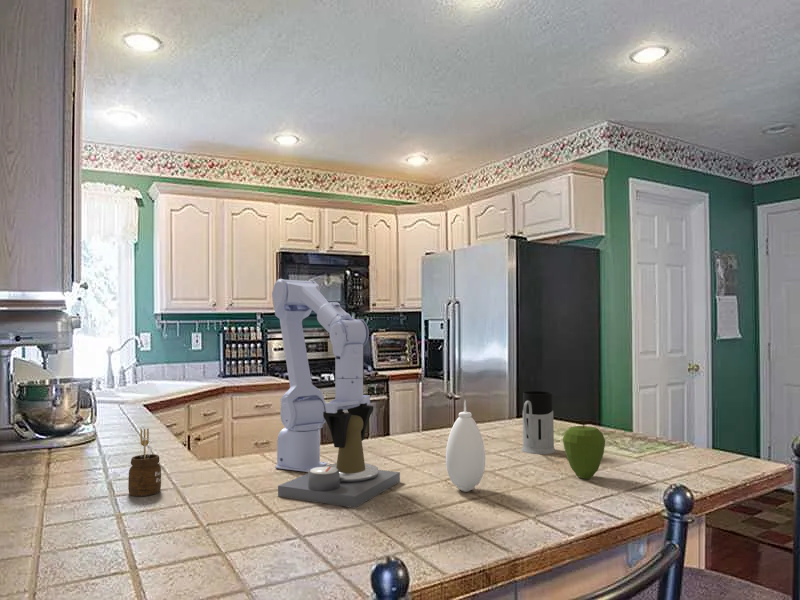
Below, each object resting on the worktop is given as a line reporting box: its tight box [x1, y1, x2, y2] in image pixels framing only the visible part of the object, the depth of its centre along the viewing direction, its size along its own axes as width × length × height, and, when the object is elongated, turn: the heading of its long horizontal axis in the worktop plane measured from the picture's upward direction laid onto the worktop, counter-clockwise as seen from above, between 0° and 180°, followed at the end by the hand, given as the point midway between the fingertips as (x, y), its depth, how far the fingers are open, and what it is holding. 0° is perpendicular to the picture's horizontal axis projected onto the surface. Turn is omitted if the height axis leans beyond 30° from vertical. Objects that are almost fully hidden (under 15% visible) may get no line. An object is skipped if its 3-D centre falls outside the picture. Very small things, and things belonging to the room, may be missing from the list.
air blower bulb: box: [445, 399, 486, 493], centre depth 116 cm, size 8×8×18 cm
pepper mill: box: [336, 415, 366, 473], centre depth 120 cm, size 6×6×11 cm
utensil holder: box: [127, 428, 162, 497], centre depth 115 cm, size 6×6×12 cm
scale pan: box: [323, 462, 379, 482], centre depth 120 cm, size 12×12×1 cm
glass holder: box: [520, 390, 556, 455], centre depth 150 cm, size 9×14×15 cm, turn 148°
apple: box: [562, 424, 606, 480], centre depth 125 cm, size 9×8×12 cm
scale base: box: [277, 463, 401, 509], centre depth 117 cm, size 17×19×5 cm
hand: (349, 443), depth 120 cm, fingers open, 7 cm apart
